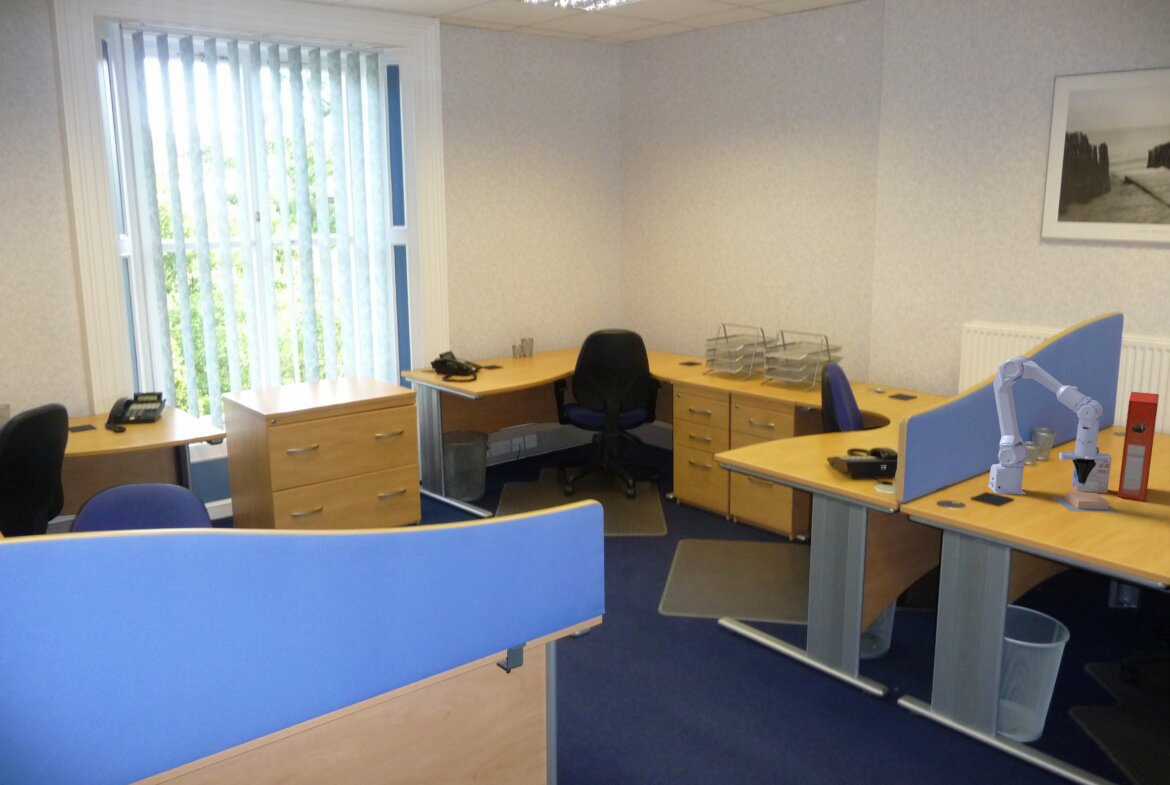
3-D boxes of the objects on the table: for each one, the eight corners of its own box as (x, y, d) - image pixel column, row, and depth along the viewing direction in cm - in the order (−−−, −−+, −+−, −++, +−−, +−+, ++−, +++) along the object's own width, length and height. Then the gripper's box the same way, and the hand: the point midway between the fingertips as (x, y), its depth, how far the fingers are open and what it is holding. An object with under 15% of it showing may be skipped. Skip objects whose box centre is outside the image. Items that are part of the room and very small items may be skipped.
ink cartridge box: (1102, 488, 307) (1108, 446, 304) (1108, 493, 302) (1113, 450, 299) (1070, 486, 309) (1075, 444, 306) (1075, 491, 304) (1080, 448, 301)
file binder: (1116, 497, 298) (1129, 400, 291) (1119, 484, 312) (1131, 391, 306) (1145, 502, 293) (1159, 403, 287) (1147, 488, 308) (1160, 394, 301)
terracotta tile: (1078, 500, 285) (1109, 501, 284) (1066, 492, 294) (1095, 492, 293) (1077, 508, 285) (1108, 509, 285) (1065, 499, 294) (1094, 500, 293)
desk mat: (1069, 512, 283) (1070, 511, 283) (1051, 497, 297) (1051, 496, 297) (1117, 513, 282) (1117, 512, 282) (1096, 499, 296) (1096, 498, 296)
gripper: (1067, 442, 282) (1062, 485, 285) (1117, 444, 281) (1112, 487, 284) (1058, 436, 289) (1053, 478, 292) (1106, 438, 288) (1101, 480, 291)
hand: (1081, 482), depth 288 cm, fingers closed
